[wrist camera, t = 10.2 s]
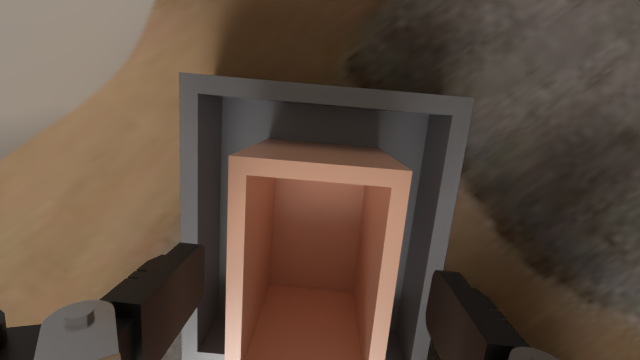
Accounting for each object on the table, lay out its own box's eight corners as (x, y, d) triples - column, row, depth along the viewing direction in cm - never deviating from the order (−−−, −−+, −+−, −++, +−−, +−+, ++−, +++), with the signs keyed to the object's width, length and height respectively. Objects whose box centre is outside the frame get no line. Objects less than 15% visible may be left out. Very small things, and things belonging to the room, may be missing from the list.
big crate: (441, 101, 17) (474, 97, 13) (403, 333, 20) (421, 385, 16) (213, 81, 17) (179, 72, 13) (210, 315, 20) (182, 363, 16)
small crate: (378, 147, 17) (412, 171, 10) (360, 296, 19) (379, 400, 12) (268, 138, 17) (228, 155, 10) (261, 287, 19) (223, 386, 12)
